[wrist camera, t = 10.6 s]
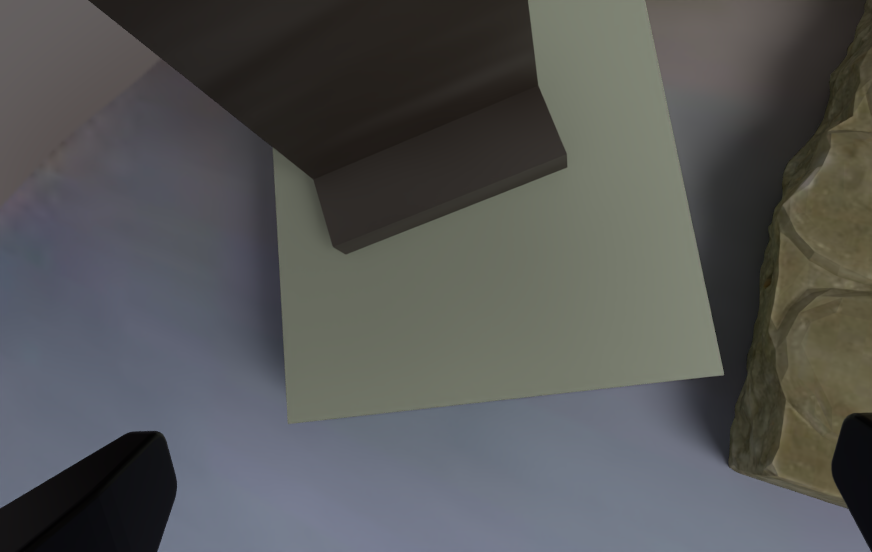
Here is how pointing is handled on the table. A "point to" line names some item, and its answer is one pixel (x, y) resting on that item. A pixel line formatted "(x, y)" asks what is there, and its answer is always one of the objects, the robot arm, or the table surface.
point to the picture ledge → (515, 257)
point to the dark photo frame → (370, 97)
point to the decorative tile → (815, 298)
